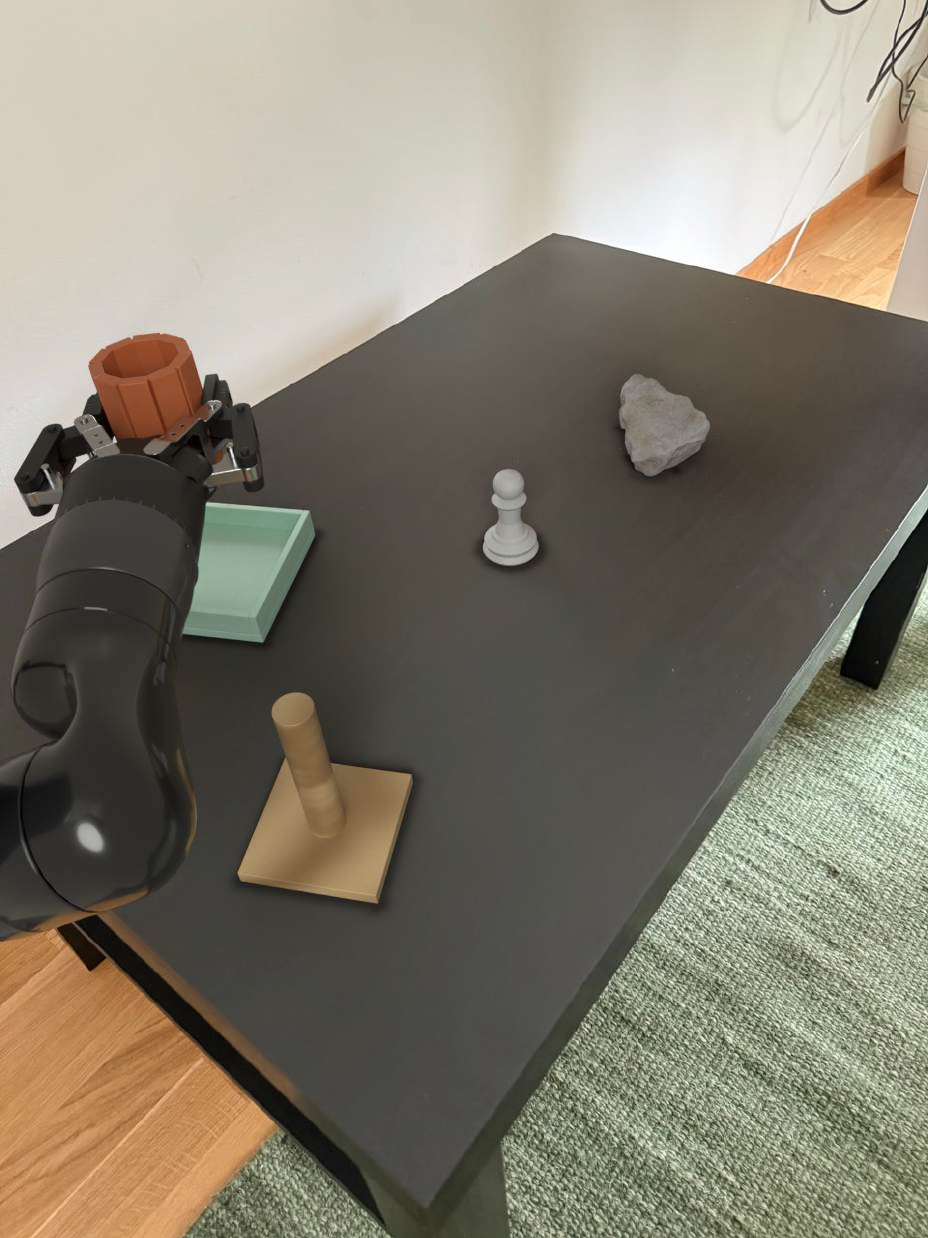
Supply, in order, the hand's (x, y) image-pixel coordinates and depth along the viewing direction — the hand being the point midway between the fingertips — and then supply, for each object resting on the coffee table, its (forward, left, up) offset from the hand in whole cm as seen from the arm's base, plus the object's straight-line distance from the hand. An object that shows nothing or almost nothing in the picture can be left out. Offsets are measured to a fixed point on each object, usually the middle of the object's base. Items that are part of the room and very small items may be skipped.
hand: (162, 392), depth 60 cm
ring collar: (+1, -2, -5) cm, 6 cm away
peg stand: (+13, -18, -21) cm, 30 cm away
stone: (+31, +27, -21) cm, 47 cm away
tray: (-5, +4, -21) cm, 22 cm away
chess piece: (+20, +11, -21) cm, 31 cm away
